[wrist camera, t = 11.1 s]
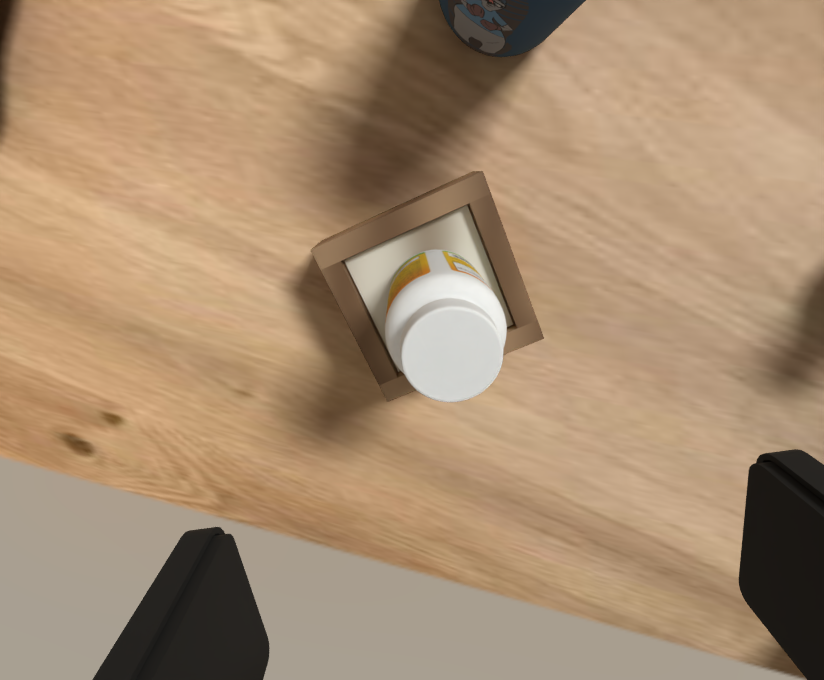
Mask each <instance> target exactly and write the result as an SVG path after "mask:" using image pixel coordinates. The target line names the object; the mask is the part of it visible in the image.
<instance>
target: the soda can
mask: <svg viewBox="0 0 824 680" xmlns="http://www.w3.org/2000/svg"><path fill="white" fill-rule="evenodd" d="M439 1H440V5H441V8H442V11H443V14H444V16H445V19H446V20H447V22H448V24H449V26H450V27H451V29H452V30H453V32H454V33H455V34H456V35H457V37H458V38H459V39H460V40H461V41H462V42H464V43H465V44H466V45H467V46H469V47H470V48H472V49H474V50H475V51H478V52H480V53H482V54H485V55H489V56H495V57H508V56H514V55H518V54H521V53H524V52H526V51H529V50H531V49H532V48H534V47H536V46H537V45H539V44H540V43H541V42H543V41H544V40H545V39H546V38H547V37H548V36H549V35H550V34H551V33H552V32H553V31H554V30H555V29H556V28H558V27H559V26H560V25H561V24H562V23H563V22H564V21H565V20H566V19H567V18H568V17H569V16H570V15H571V14H572V13H573V12H574V11H575V10H576V9H577V8H578V7H579V6H580V5H581V4H582V3H583V2H585V1H586V0H439Z"/></svg>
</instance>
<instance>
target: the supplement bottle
mask: <svg viewBox="0 0 824 680" xmlns="http://www.w3.org/2000/svg"><path fill="white" fill-rule="evenodd" d="M506 333H507V327H506V319H505V315H504V312H503V309H502V307H501V305H500V303H499V300H498V299H497V297H496V295H495V294H494V293H493V291H492V290H491V289H490V287H489V286H488V285H487V283H486V282H485V281H484V279H483V278H482V277H481V275H480V274H479V273H478V271H477V270H476V269H475V268H474V267H473V265H472V264H471V263H470V262H468V261H467V260H466V259H465V258H463V257H462V256H460V255H458V254H456V253H454V252H451V251H447V250H437V249H435V250H427V251H423V252H420V253H418V254H416V255H414V256H412V257H410V258H409V259H408V260H406V261H405V262H404V263H403V264H402V265H401V266H400V267H399V268H398V270H397V271H396V273H395V275H394V277H393V279H392V281H391V284H390V288H389V294H388V304H387V312H386V320H385V337H386V343H387V347H388V350H389V353H390V355H391V357H392V359H393V361H394V362H395V364H396V365H397V367H398V368H399V369H400V370H401V371H402V372H403V373H404V374H405V376H406V378H407V379H408V381H409V382H410V384H411V385H412V386H413V387H414V388H415V389H416V390H417V391H418V392H420V393H421V394H423V395H424V396H426V397H428V398H431V399H433V400H437V401H442V402H459V401H464V400H467V399H470V398H472V397H475V396H477V395H478V394H480V393H481V392H483V391H484V390H485V389H487V388H488V387H489V386H490V385H491V383H492V382H493V381H494V380H495V378H496V377H497V375H498V373H499V371H500V368H501V365H502V361H503V349H504V345H505V341H506Z"/></svg>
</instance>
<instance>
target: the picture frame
mask: <svg viewBox="0 0 824 680" xmlns="http://www.w3.org/2000/svg"><path fill="white" fill-rule="evenodd" d="M435 249H437V250H447V251H451V252H454V253H456V254H458V255H460V256H462V257H463V258H465V259H466V260H467V261H468V262H470V263H471V264H472V265H473V267H474V268H475V269H476V270H477V271H478V273H479V274H480V275H481V277H482V278H483V279H484V281H485V282H486V283H487V285H488V286H489V287H490V289H491V290H492V291H493V293H494V294H495V295H496V297H497V299H498V300H499V303H500V305H501V307H502V309H503V312H504V315H505V319H506V327H507V333H506V341H505V345H504V349H503V355H504V354H507V353H509V352H512V351H514V350H517V349H519V348H522V347H524V346H527V345H529V344H532V343H534V342H537V341H539V340H541V339H544V337H543V334H542V332H541V329H540V326H539V323H538V321H537V318H536V315H535V312H534V310H533V307H532V304H531V302H530V299H529V296H528V293H527V291H526V288H525V285H524V282H523V280H522V277H521V274H520V272H519V269H518V266H517V263H516V261H515V258H514V255H513V252H512V250H511V247H510V244H509V242H508V239H507V236H506V233H505V231H504V228H503V225H502V222H501V220H500V217H499V214H498V212H497V209H496V206H495V203H494V201H493V198H492V195H491V192H490V190H489V187H488V184H487V182H486V179H485V176H484V173H483V171H473V172H471V173H468V174H466V175H464V176H462V177H460V178H458V179H455V180H453V181H451V182H449V183H447V184H444V185H442V186H440V187H438V188H436V189H434V190H431V191H429V192H427V193H425V194H423V195H420V196H418V197H416V198H414V199H412V200H409V201H407V202H405V203H403V204H401V205H399V206H396V207H394V208H392V209H390V210H388V211H385V212H383V213H381V214H379V215H377V216H375V217H372V218H370V219H368V220H366V221H364V222H361V223H359V224H357V225H355V226H353V227H351V228H348V229H346V230H344V231H342V232H340V233H337V234H335V235H333V236H331V237H329V238H326V239H324V240H322V241H321V242H320V243H318V244H317V245H316V246H315V247H313V248H312V249H311V252H312V254H313V256H314V258H315V260H316V262H317V264H318V266H319V268H320V270H321V272H322V274H323V276H324V278H325V280H326V282H327V284H328V286H329V288H330V290H331V291H332V293H333V295H334V297H335V299H336V301H337V303H338V305H339V307H340V309H341V311H342V313H343V315H344V317H345V319H346V321H347V323H348V325H349V327H350V329H351V331H352V333H353V335H354V337H355V339H356V341H357V343H358V345H359V347H360V349H361V351H362V353H363V354H364V356H365V358H366V360H367V362H368V364H369V366H370V368H371V370H372V372H373V374H374V376H375V378H376V380H377V382H378V384H379V386H380V388H381V390H382V392H383V394H384V396H385V398H386V400H387V402H388V401H391V400H393V399H396V398H398V397H401V396H403V395H406V394H408V393H410V392H413V391H415V390H416V389H415V388H414V387H413V386H412V385H411V384H410V382H409V381H408V379H407V378H406V376H405V374H404V373H403V372H402V371H401V370H400V369H399V368H398V367H397V365H396V364H395V362H394V361H393V359H392V357H391V355H390V353H389V350H388V347H387V343H386V337H385V320H386V312H387V304H388V294H389V288H390V284H391V281H392V279H393V277H394V275H395V273H396V271H397V270H398V268H399V267H400V266H401V265H402V264H403V263H404V262H405V261H406V260H408V259H409V258H410V257H412V256H414V255H416V254H418V253H420V252H423V251H427V250H435Z"/></svg>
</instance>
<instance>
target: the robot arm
mask: <svg viewBox="0 0 824 680" xmlns="http://www.w3.org/2000/svg"><path fill="white" fill-rule="evenodd" d="M739 586H740V590H741V593H742V595H743V597H744V599H745V601H746V602H747V604H748V605H749V607H750V608H751V609H752V610H753V612H754V613H755V614H756V615H757V617H758V618H759V619H760V620H761V622H762V623H763V624H764V625H765V627H766V628H767V629H768V631H769V632H770V633H771V634H772V636H773V637H774V638H775V639H776V641H777V642H778V643H779V644H780V646H781V647H782V648H783V649H784V651H785V652H786V653H787V654H788V656H789V657H790V658H791V660H792V661H793V662H794V663H795V665H796V666H797V667H798V668H799V670H800V671H801V672H802V673H803V675H804V676H805V677H806V678H807V680H824V465H823V464H822V463H820V462H819V461H817V460H816V459H815V458H813V457H812V456H810V455H809V454H807V453H806V452H804V451H802V450H796V449H795V450H788V451H780V452H773V453H765V454H762V455H760V456H759V457H758V459H757V462H756V464H753V465H751V467H750V469H749V475H748V486H747V496H746V507H745V518H744V528H743V539H742V550H741V561H740V571H739ZM268 659H269V641H268V637H267V634H266V631H265V628H264V625H263V622H262V619H261V616H260V614H259V611H258V607H257V605H256V602H255V599H254V596H253V593H252V590H251V587H250V584H249V581H248V578H247V575H246V572H245V569H244V566H243V564H242V561H241V558H240V555H239V552H238V549H237V546H236V543H235V541H234V538H233V536H232V535H231V534H225V533H224V531H223V530H222V529H221V528H220V527H214V528H207V529H198V530H191V531H187V532H185V533H184V534H183V536H182V537H181V538H180V540H179V542H178V543H177V545H176V546H175V548H174V550H173V551H172V553H171V554H170V556H169V558H168V559H167V561H166V563H165V564H164V566H163V567H162V569H161V571H160V572H159V574H158V575H157V577H156V579H155V580H154V582H153V583H152V585H151V587H150V588H149V590H148V591H147V593H146V595H145V596H144V598H143V600H142V601H141V603H140V604H139V606H138V608H137V609H136V611H135V612H134V614H133V616H132V617H131V619H130V620H129V622H128V624H127V625H126V627H125V628H124V630H123V632H122V633H121V635H120V636H119V638H118V640H117V641H116V643H115V644H114V646H113V648H112V649H111V651H110V653H109V654H108V656H107V657H106V659H105V660H104V662H103V664H102V665H101V667H100V669H99V670H98V672H97V673H96V675H95V677H94V678H93V680H263V677H264V674H265V670H266V667H267V663H268Z"/></svg>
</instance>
